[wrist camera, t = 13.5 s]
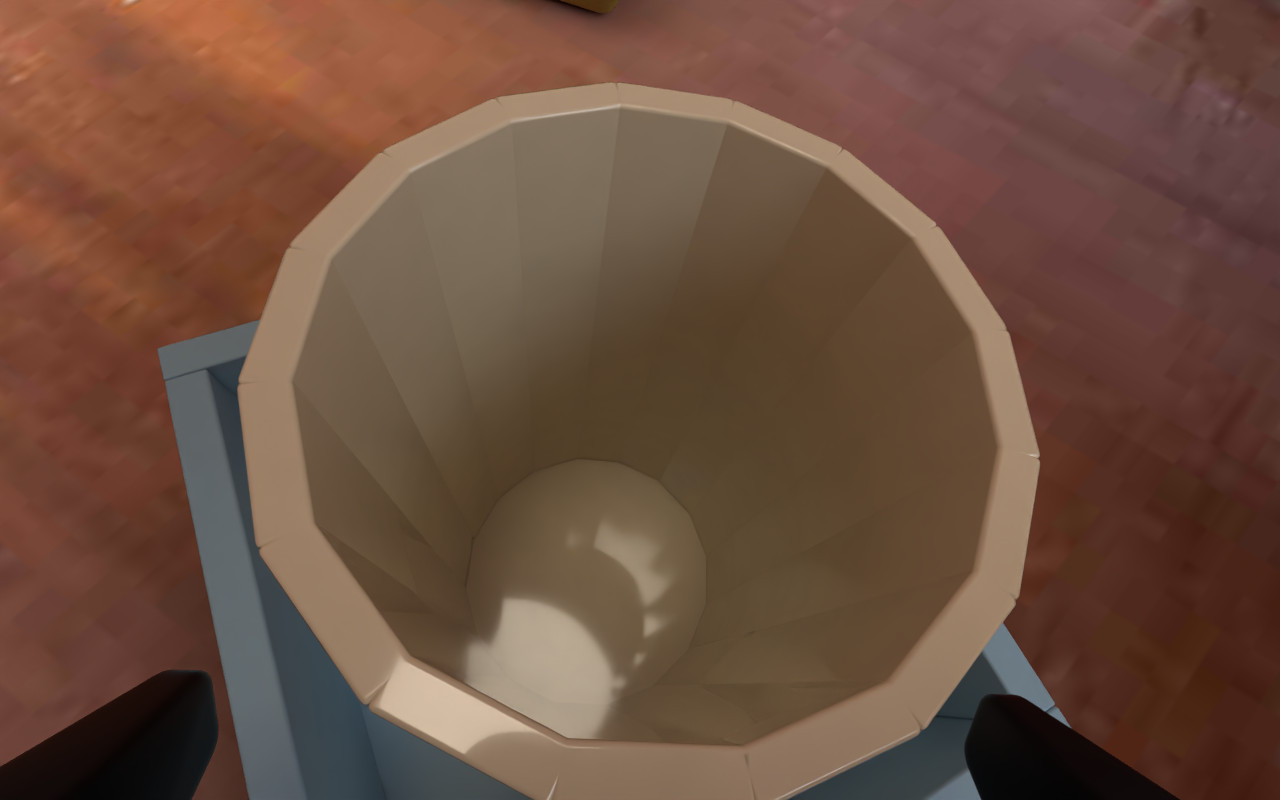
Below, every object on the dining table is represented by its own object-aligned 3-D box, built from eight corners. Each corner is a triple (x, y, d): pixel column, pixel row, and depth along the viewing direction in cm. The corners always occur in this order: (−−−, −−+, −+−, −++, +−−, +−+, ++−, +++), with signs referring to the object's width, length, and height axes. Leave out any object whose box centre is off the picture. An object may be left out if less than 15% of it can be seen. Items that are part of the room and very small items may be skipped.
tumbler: (651, 774, 14) (953, 1029, 4) (400, 641, 15) (13, 519, 4) (750, 520, 17) (1077, 247, 7) (538, 415, 18) (521, 3, 7)
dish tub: (934, 730, 16) (1085, 747, 12) (421, 1066, 12) (346, 1292, 8) (685, 297, 21) (723, 189, 17) (261, 438, 17) (155, 347, 13)
